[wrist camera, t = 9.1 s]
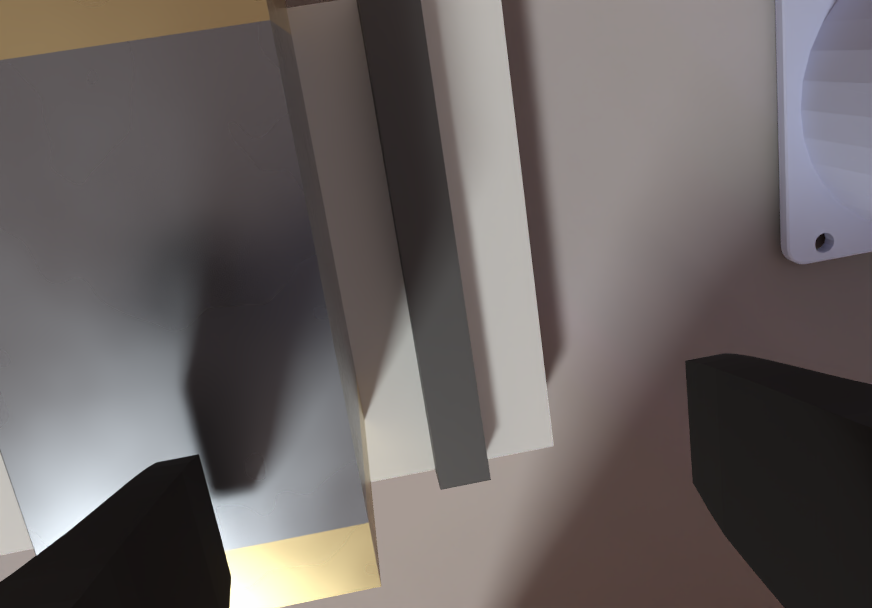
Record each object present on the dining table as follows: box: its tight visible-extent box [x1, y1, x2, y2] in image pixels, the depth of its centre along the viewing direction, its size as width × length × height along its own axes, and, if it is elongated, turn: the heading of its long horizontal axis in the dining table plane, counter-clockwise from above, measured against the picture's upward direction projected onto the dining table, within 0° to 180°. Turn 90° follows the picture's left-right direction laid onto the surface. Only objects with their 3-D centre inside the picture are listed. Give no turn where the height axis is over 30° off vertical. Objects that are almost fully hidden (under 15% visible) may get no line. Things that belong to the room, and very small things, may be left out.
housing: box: [0, 0, 381, 608], centre depth 15 cm, size 10×5×6 cm, turn 8°
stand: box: [0, 0, 554, 555], centre depth 19 cm, size 14×11×3 cm
